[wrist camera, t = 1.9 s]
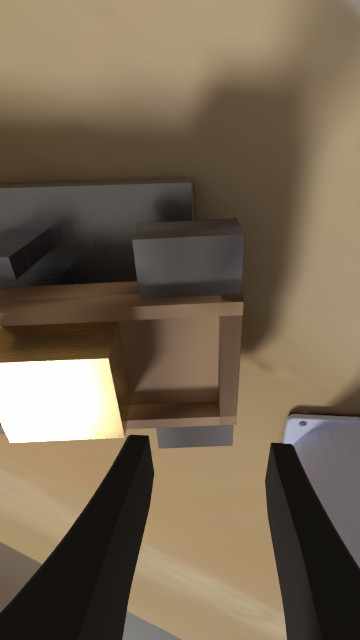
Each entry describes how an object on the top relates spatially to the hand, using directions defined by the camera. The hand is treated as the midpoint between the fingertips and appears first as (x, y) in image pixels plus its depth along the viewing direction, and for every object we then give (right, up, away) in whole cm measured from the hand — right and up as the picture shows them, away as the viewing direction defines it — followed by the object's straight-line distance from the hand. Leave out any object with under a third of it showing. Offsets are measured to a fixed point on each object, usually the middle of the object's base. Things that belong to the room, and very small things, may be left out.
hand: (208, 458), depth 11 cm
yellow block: (-6, +3, +4) cm, 8 cm away
